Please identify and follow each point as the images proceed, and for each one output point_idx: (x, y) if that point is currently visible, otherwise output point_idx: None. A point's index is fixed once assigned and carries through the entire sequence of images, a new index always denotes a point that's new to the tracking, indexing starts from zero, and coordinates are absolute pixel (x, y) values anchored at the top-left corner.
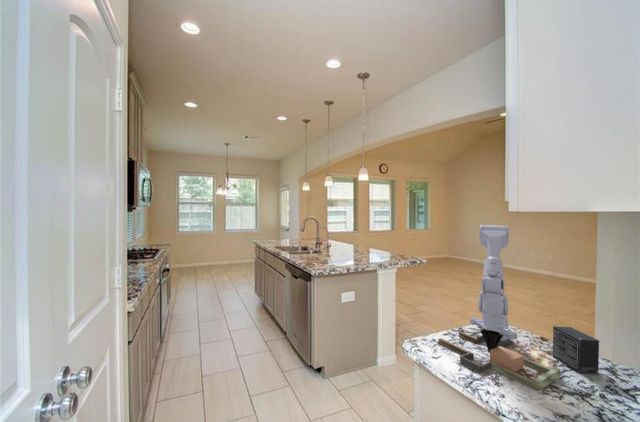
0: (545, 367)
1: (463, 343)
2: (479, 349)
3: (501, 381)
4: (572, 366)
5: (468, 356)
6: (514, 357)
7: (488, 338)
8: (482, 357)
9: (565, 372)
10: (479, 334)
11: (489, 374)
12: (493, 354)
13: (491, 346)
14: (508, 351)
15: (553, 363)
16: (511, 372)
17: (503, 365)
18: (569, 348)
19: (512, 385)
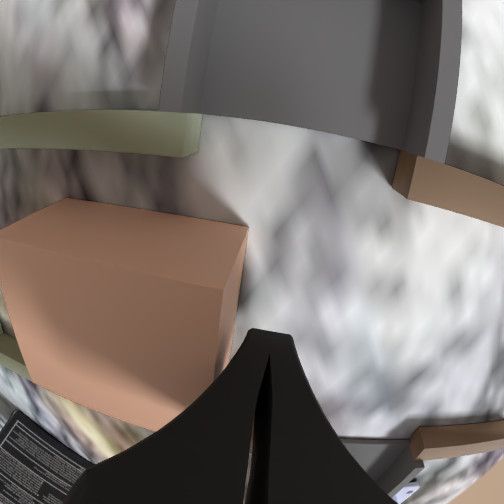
0: (17, 368)
1: (491, 369)
2: (390, 379)
3: (71, 8)
4: (33, 432)
5: (423, 95)
6: (17, 304)
7: (266, 468)
8: (334, 271)
9: (24, 394)
10: (408, 491)
11: (157, 5)
12: (182, 260)
13: (235, 377)
14: (103, 389)
15: (79, 439)
16: (20, 127)
17: (111, 216)
18: (19, 485)
19: (23, 38)
